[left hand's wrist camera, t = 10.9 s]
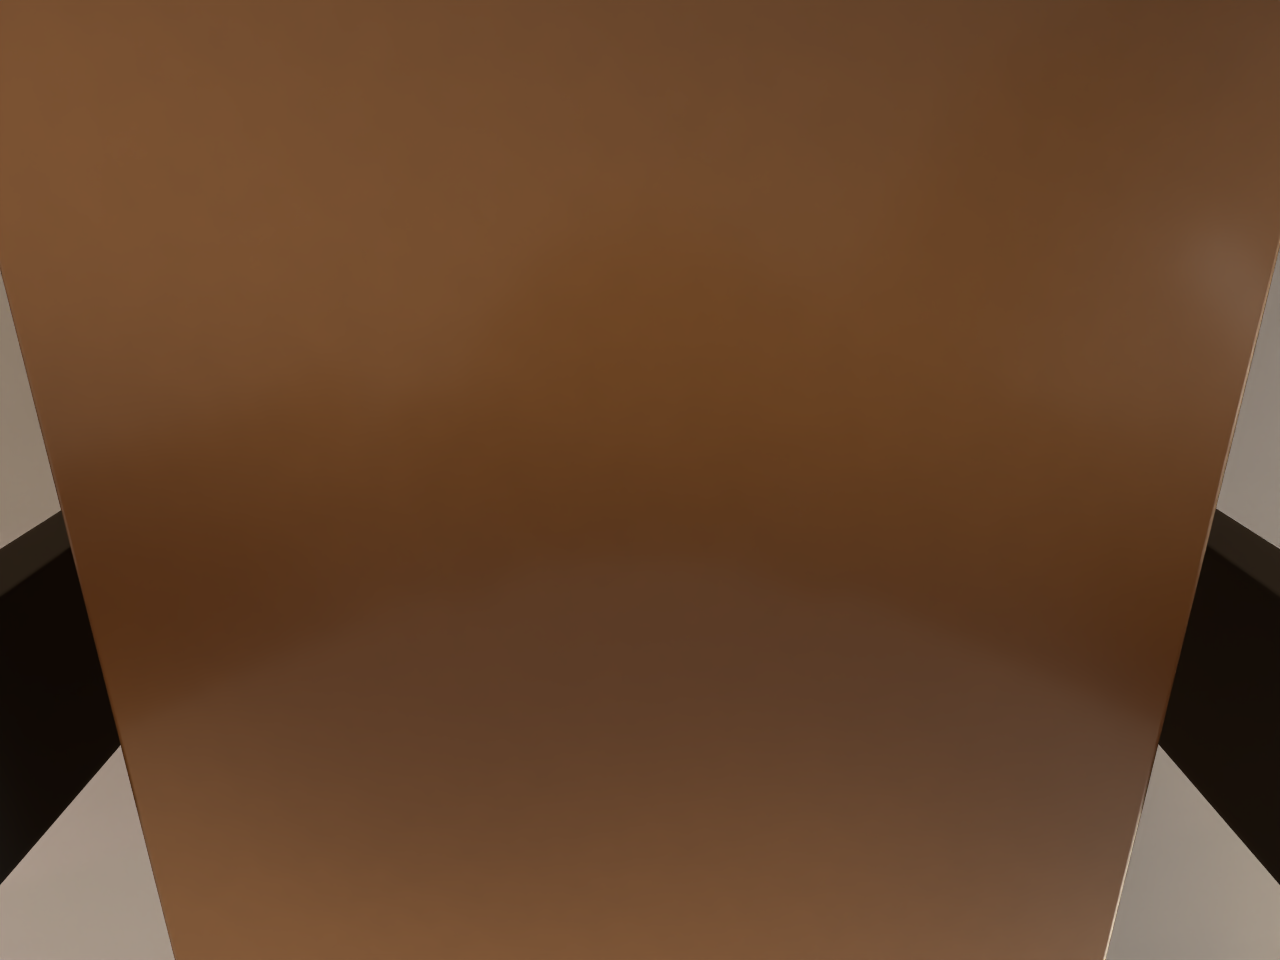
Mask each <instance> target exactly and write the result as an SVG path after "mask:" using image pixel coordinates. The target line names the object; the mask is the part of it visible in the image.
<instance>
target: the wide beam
mask: <svg viewBox="0 0 1280 960" xmlns="http://www.w3.org/2000/svg"><path fill="white" fill-rule="evenodd" d="M1279 248H1280V0H0V270H1V274H2V278H3V282H4V286H5V289H6V293H7V297H8V301H9V305H10V309H11V313H12V317H13V321H14V325H15V329H16V333H17V337H18V341H19V345H20V349H21V353H22V357H23V361H24V365H25V369H26V373H27V376H28V380H29V384H30V388H31V392H32V396H33V400H34V404H35V408H36V412H37V416H38V420H39V424H40V428H41V432H42V436H43V440H44V444H45V448H46V452H47V456H48V459H49V463H50V467H51V471H52V475H53V479H54V483H55V487H56V491H57V495H58V499H59V503H60V507H61V511H62V515H63V519H64V523H65V527H66V531H67V535H68V539H69V543H70V546H71V550H72V554H73V558H74V562H75V566H76V570H77V574H78V578H79V582H80V586H81V590H82V594H83V598H84V602H85V606H86V610H87V614H88V618H89V622H90V626H91V629H92V633H93V637H94V641H95V645H96V649H97V653H98V657H99V661H100V665H101V669H102V673H103V677H104V681H105V685H106V689H107V693H108V697H109V701H110V705H111V709H112V713H113V716H114V720H115V724H116V728H117V732H118V736H119V740H120V744H121V748H122V752H123V756H124V760H125V764H126V768H127V772H128V776H129V780H130V784H131V788H132V792H133V796H134V800H135V803H136V807H137V811H138V815H139V819H140V823H141V827H142V831H143V835H144V839H145V843H146V847H147V851H148V855H149V859H150V863H151V867H152V871H153V875H154V879H155V883H156V886H157V890H158V894H159V898H160V902H161V906H162V910H163V914H164V918H165V922H166V926H167V930H168V934H169V938H170V942H171V946H172V950H173V954H174V958H175V960H1106V956H1107V952H1108V948H1109V944H1110V940H1111V935H1112V931H1113V927H1114V923H1115V919H1116V915H1117V911H1118V907H1119V903H1120V899H1121V895H1122V890H1123V886H1124V882H1125V878H1126V874H1127V870H1128V866H1129V862H1130V858H1131V854H1132V850H1133V845H1134V841H1135V837H1136V833H1137V829H1138V825H1139V821H1140V817H1141V813H1142V809H1143V804H1144V800H1145V796H1146V792H1147V788H1148V784H1149V780H1150V776H1151V772H1152V768H1153V764H1154V759H1155V755H1156V751H1157V747H1158V743H1159V739H1160V735H1161V731H1162V727H1163V723H1164V719H1165V714H1166V710H1167V706H1168V702H1169V698H1170V694H1171V690H1172V686H1173V682H1174V678H1175V673H1176V669H1177V665H1178V661H1179V657H1180V653H1181V649H1182V645H1183V641H1184V637H1185V633H1186V628H1187V624H1188V620H1189V616H1190V612H1191V608H1192V604H1193V600H1194V596H1195V592H1196V588H1197V583H1198V579H1199V575H1200V571H1201V567H1202V563H1203V559H1204V555H1205V551H1206V547H1207V542H1208V538H1209V534H1210V530H1211V526H1212V522H1213V518H1214V514H1215V510H1216V506H1217V502H1218V497H1219V493H1220V489H1221V485H1222V481H1223V477H1224V473H1225V469H1226V465H1227V461H1228V457H1229V452H1230V448H1231V444H1232V440H1233V436H1234V432H1235V428H1236V424H1237V420H1238V416H1239V411H1240V407H1241V403H1242V399H1243V395H1244V391H1245V387H1246V383H1247V379H1248V375H1249V371H1250V366H1251V362H1252V358H1253V354H1254V350H1255V346H1256V342H1257V338H1258V334H1259V330H1260V326H1261V321H1262V317H1263V313H1264V309H1265V305H1266V301H1267V297H1268V293H1269V289H1270V285H1271V281H1272V276H1273V272H1274V268H1275V264H1276V260H1277V256H1278V252H1279Z"/></svg>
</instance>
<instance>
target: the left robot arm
mask: <svg viewBox="0 0 1280 960" xmlns="http://www.w3.org/2000/svg"><path fill="white" fill-rule="evenodd" d="M1158 744H1159V745H1160V746H1161V747H1162V749H1163V750H1164V751H1165V752H1166V753H1167V754H1168V756H1169V757H1170V758H1171V759H1172V760H1173V761H1174V763H1175V764H1176V765H1177V766H1178V767H1179V768H1180V769H1181V771H1182V772H1183V773H1184V774H1185V775H1186V776H1187V778H1188V779H1189V780H1190V781H1191V782H1192V783H1193V785H1194V786H1195V787H1196V788H1197V789H1198V790H1199V792H1200V793H1201V794H1202V795H1203V796H1204V797H1205V799H1206V800H1207V801H1208V802H1209V803H1210V804H1211V805H1212V807H1213V808H1214V809H1215V810H1216V811H1217V812H1218V814H1219V815H1220V816H1221V817H1222V818H1223V819H1224V821H1225V822H1226V823H1227V824H1228V825H1229V826H1230V828H1231V829H1232V830H1233V831H1234V832H1235V833H1236V835H1237V836H1238V837H1239V838H1240V839H1241V840H1242V842H1243V843H1244V844H1245V845H1246V846H1247V847H1248V848H1249V850H1250V851H1251V852H1252V853H1253V854H1254V855H1255V857H1256V858H1257V859H1258V860H1259V861H1260V862H1261V864H1262V865H1263V866H1264V867H1265V868H1266V869H1267V871H1268V872H1269V873H1270V874H1271V875H1272V876H1273V878H1274V879H1275V880H1276V881H1277V882H1278V883H1279V884H1280V549H1279V548H1277V547H1275V546H1274V545H1272V544H1271V543H1269V542H1268V541H1266V540H1264V539H1263V538H1261V537H1260V536H1258V535H1257V534H1255V533H1253V532H1252V531H1250V530H1249V529H1247V528H1246V527H1244V526H1243V525H1241V524H1239V523H1238V522H1236V521H1235V520H1233V519H1232V518H1230V517H1228V516H1227V515H1225V514H1224V513H1222V512H1221V511H1219V510H1217V509H1216V510H1215V514H1214V518H1213V522H1212V526H1211V530H1210V534H1209V538H1208V542H1207V547H1206V551H1205V555H1204V559H1203V563H1202V567H1201V571H1200V575H1199V579H1198V583H1197V588H1196V592H1195V596H1194V600H1193V604H1192V608H1191V612H1190V616H1189V620H1188V624H1187V628H1186V633H1185V637H1184V641H1183V645H1182V649H1181V653H1180V657H1179V661H1178V665H1177V669H1176V673H1175V678H1174V682H1173V686H1172V690H1171V694H1170V698H1169V702H1168V706H1167V710H1166V714H1165V719H1164V723H1163V727H1162V731H1161V735H1160V739H1159V743H1158ZM120 745H121V744H120V740H119V736H118V732H117V728H116V724H115V720H114V716H113V713H112V709H111V705H110V701H109V697H108V693H107V689H106V685H105V681H104V677H103V673H102V669H101V665H100V661H99V657H98V653H97V649H96V645H95V641H94V637H93V633H92V629H91V626H90V622H89V618H88V614H87V610H86V606H85V602H84V598H83V594H82V590H81V586H80V582H79V578H78V574H77V570H76V566H75V562H74V558H73V554H72V550H71V546H70V543H69V539H68V535H67V531H66V527H65V523H64V519H63V515H62V511H59V512H58V513H56V514H55V515H53V516H52V517H50V518H48V519H47V520H45V521H44V522H42V523H41V524H39V525H37V526H36V527H34V528H33V529H31V530H30V531H28V532H27V533H25V534H23V535H22V536H20V537H19V538H17V539H16V540H14V541H12V542H11V543H9V544H8V545H6V546H5V547H3V548H1V549H0V884H1V883H2V882H3V881H4V880H5V879H6V878H7V876H8V875H9V874H10V873H11V872H12V871H13V869H14V868H15V867H16V866H17V865H18V864H19V862H20V861H21V860H22V859H23V858H24V857H25V855H26V854H27V853H28V852H29V851H30V850H31V848H32V847H33V846H34V845H35V844H36V843H37V841H38V840H39V839H40V838H41V837H42V836H43V835H44V833H45V832H46V831H47V830H48V829H49V828H50V826H51V825H52V824H53V823H54V822H55V821H56V819H57V818H58V817H59V816H60V815H61V814H62V812H63V811H64V810H65V809H66V808H67V807H68V805H69V804H70V803H71V802H72V801H73V800H74V799H75V797H76V796H77V795H78V794H79V793H80V792H81V790H82V789H83V788H84V787H85V786H86V785H87V783H88V782H89V781H90V780H91V779H92V778H93V776H94V775H95V774H96V773H97V772H98V771H99V769H100V768H101V767H102V766H103V765H104V764H105V763H106V761H107V760H108V759H109V758H110V757H111V756H112V754H113V753H114V752H115V751H116V750H117V749H118V747H119V746H120Z"/></svg>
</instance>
